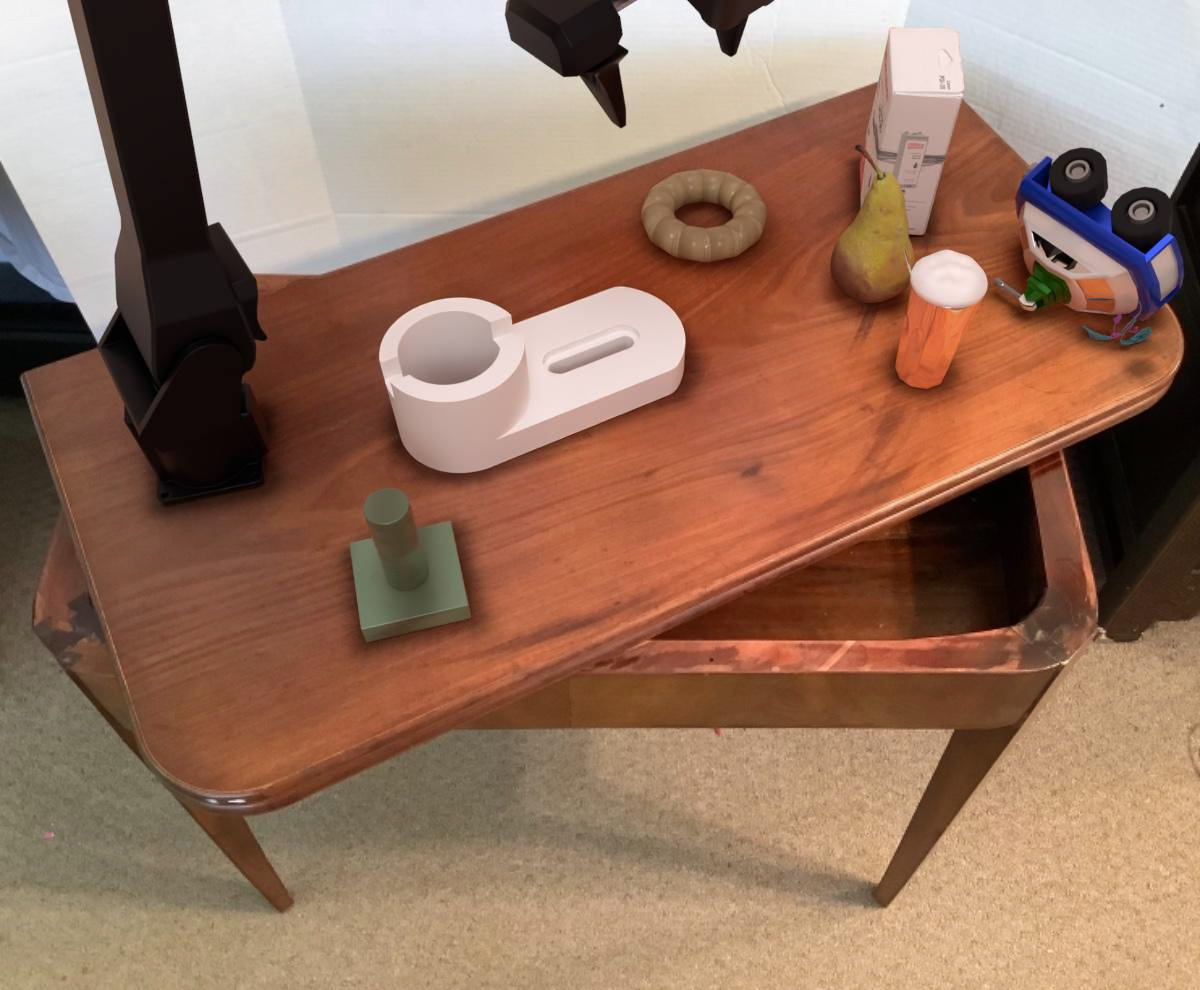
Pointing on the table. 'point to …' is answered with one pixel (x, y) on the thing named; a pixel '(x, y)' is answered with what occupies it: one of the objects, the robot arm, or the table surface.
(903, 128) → the ink box
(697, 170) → the segmented ring
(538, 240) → the table surface
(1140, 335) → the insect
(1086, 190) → the toy car
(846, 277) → the fruit
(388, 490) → the stand
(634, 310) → the bracket
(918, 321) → the beer glass
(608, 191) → the table surface
